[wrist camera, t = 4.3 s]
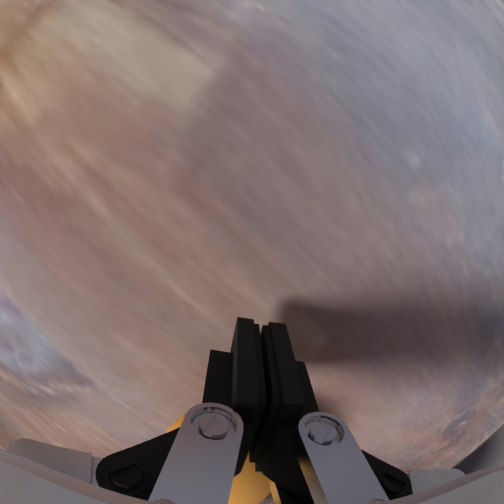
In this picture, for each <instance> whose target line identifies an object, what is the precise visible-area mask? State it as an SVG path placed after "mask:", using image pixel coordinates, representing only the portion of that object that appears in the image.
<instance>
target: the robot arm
mask: <svg viewBox="0 0 504 504" xmlns="http://www.w3.org/2000/svg"><path fill="white" fill-rule="evenodd" d="M248 453H249V462H251V463H255V471H256V472H262V474H263V475H264V476H266V477H267V478H268V479H270V480H269V487H270V491H271V494H272V498H273V501H274V504H504V467H495V468H489V469H484V470H481V471H477V472H474V473H471V474H469V475H465V474H464V473H463V472H462V471H459V470H458V469H442V470H428V471H409V472H408V473H407V474H405V473H404V472H403V471H401V470H399V469H398V468H396V467H393V466H391V465H389V464H388V463H386V462H384V461H382V460H380V459H378V458H376V457H374V456H372V455H370V454H368V453H367V452H365V451H363V450H361V449H360V448H359V446H358V444H357V442H356V440H355V439H354V437H353V435H352V433H351V432H350V430H349V428H348V426H347V425H346V424H345V423H344V421H342V420H341V419H340V418H339V417H337V416H335V415H333V414H330V413H326V412H319V410H318V406H317V403H316V400H315V396H314V393H313V389H312V386H311V383H310V379H309V376H308V373H307V369H306V366H305V364H304V362H302V361H295V358H294V354H293V350H292V346H291V343H290V339H289V335H288V331H287V327H286V324H281V323H274V322H269V324H268V326H267V325H263V327H262V330H261V334H260V330H259V324H254V320H253V319H247V318H241V317H238V318H237V322H236V327H235V332H234V337H233V342H232V347H231V352H230V353H229V352H223V351H217V350H210V356H209V362H208V369H207V375H206V381H205V388H204V394H203V401H202V404H198V405H195V406H194V407H192V408H191V409H189V411H188V412H187V414H186V415H185V417H184V420H183V422H182V424H181V427H179V428H177V429H174V430H172V431H170V432H168V433H165V434H163V435H160V436H158V437H156V438H153V439H151V440H148V441H146V442H143V443H141V444H138V445H135V446H133V447H130V448H127V449H125V450H122V451H119V452H116V453H113V454H111V455H109V456H107V457H105V458H100V457H93V455H92V453H88V452H82V451H77V450H72V449H67V448H63V447H58V446H54V445H50V444H46V443H42V442H39V441H35V440H32V439H25V438H22V439H18V440H15V441H14V442H12V443H11V444H10V445H9V447H8V449H7V452H6V453H5V452H2V451H0V504H228V500H229V496H230V491H231V487H232V482H233V477H235V476H236V475H238V474H239V473H241V471H242V468H243V466H244V463H245V461H246V458H247V455H248Z"/></svg>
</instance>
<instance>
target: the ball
mask: <svg viewBox="0 0 504 504" xmlns="http://www.w3.org/2000/svg"><path fill="white" fill-rule="evenodd" d="M185 415H186V414H185ZM185 415H184V416H182V417H181V418H179V419H178V420H177V421H175V422H174V423H173V424H172V425H171V426H170V427H169V429H168V430H167V431H166V433H168V432H170V431H172V430H174V429H177V428H179V427H181V424H182V422H183V420H184V417H185ZM269 480H270V479H268V478H267V477H266V476H264V475H263V474H262V472H256V471H255V463H251V462H249V453H248V455H247V458H246V461H245V463H244V466H243V468H242V471H241V473H239V474H238V475H236V476H235V477H233V482H232V487H231V491H230V496H229V500H228V504H258V503H260V502H261V501H263V500H264V499H265V498H266V497H267V496H268V495H269V494H270V492H271V491H270V487H269Z"/></svg>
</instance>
